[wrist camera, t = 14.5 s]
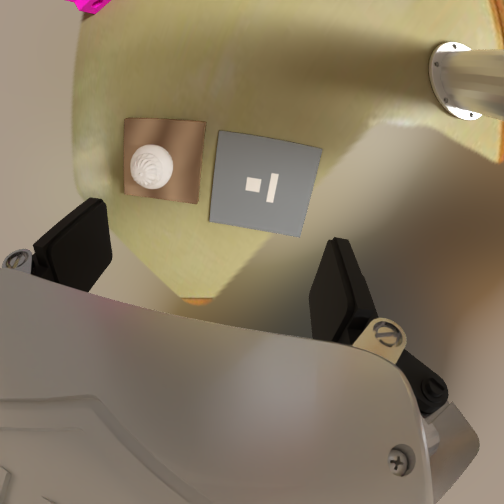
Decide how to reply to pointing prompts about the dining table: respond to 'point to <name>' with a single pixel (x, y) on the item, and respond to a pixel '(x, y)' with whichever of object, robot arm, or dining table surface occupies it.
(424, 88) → the dining table surface
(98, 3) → the magenta cradle bracket
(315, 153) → the tile
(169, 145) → the walnut pad
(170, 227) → the dining table surface
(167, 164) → the muffin
